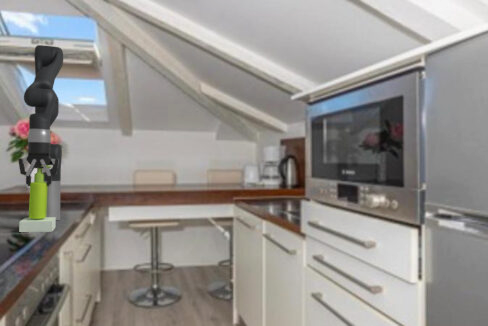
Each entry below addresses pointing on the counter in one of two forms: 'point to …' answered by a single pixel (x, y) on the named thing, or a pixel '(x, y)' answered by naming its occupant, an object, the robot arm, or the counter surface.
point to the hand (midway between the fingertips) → (38, 185)
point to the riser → (37, 224)
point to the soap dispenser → (38, 196)
